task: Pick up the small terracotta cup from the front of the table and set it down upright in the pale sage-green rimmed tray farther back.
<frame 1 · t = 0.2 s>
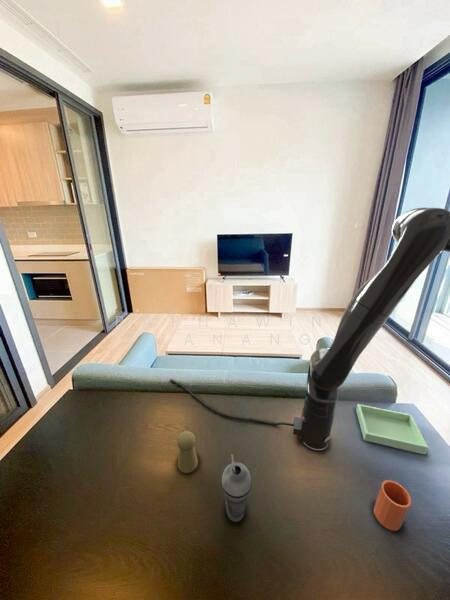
tray: (387, 430, 85), on the table
terracotta cup: (387, 516, 62), on the table
beverage cup: (235, 511, 63), on the table
beige pawn figure: (187, 463, 74), on the table
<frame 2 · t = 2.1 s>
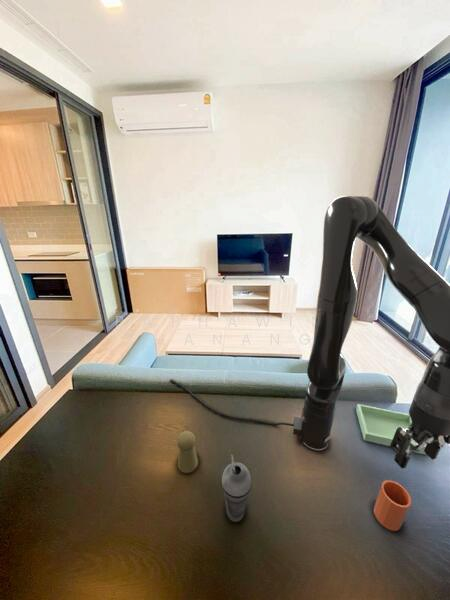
hand: (414, 460, 55), 20 cm above the table, tool pointing down, fingers open, 8 cm apart
nothing on the table moved.
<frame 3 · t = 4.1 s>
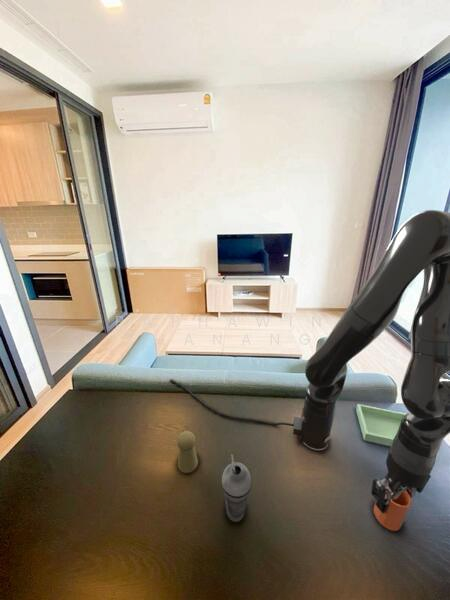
hand: (391, 505, 60), 5 cm above the table, tool pointing down, fingers closed on terracotta cup, 6 cm apart
terracotta cup: (387, 516, 62), on the table, touching gripper
everything else where it was.
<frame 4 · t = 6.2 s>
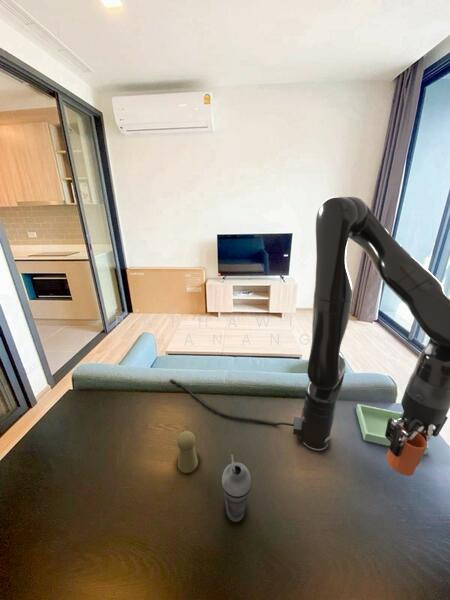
hand: (405, 450, 58), 19 cm above the table, tool pointing down, fingers closed on terracotta cup, 6 cm apart
terracotta cup: (400, 463, 60), point 14 cm above the table, touching gripper
everything else where it was.
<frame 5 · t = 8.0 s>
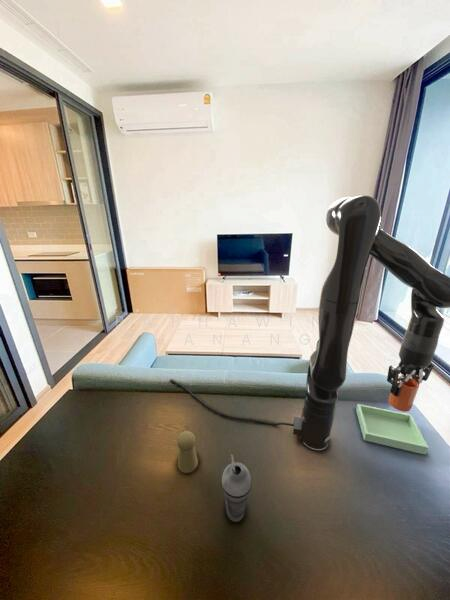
hand: (403, 392, 75), 19 cm above the table, tool pointing down, fingers closed on terracotta cup, 6 cm apart
terracotta cup: (399, 404, 77), point 15 cm above the table, touching gripper
everything else where it was.
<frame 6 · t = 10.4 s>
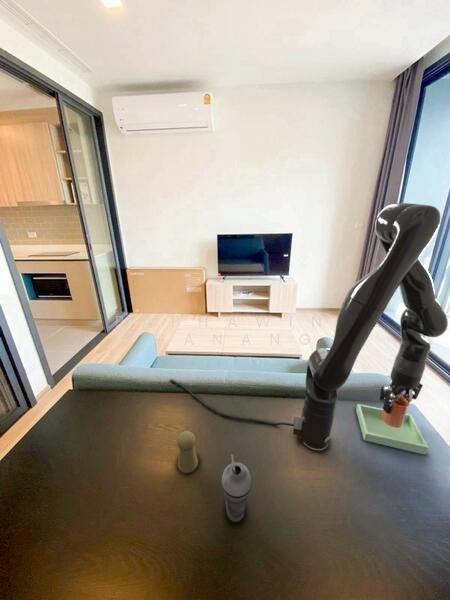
hand: (394, 410, 82), 9 cm above the table, tool pointing down, fingers closed on terracotta cup, 6 cm apart
terracotta cup: (391, 420, 84), point 5 cm above the table, touching gripper
everything else where it was.
when the fingers open (5 cm above the table, at t = 12.0 s): terracotta cup stays where it is, resting on tray.
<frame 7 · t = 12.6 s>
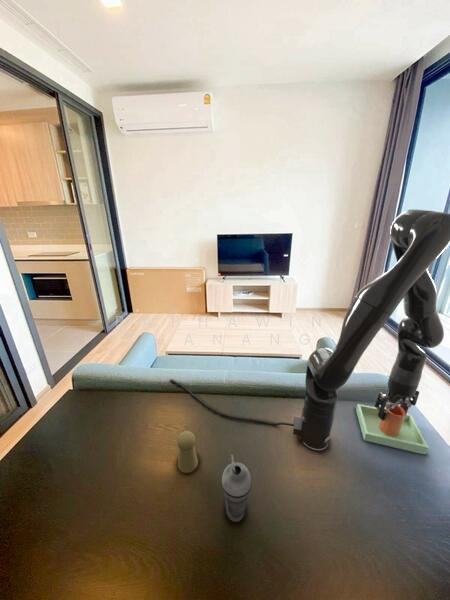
hand: (391, 416, 83), 6 cm above the table, tool pointing down, fingers open, 8 cm apart
terracotta cup: (388, 429, 85), point 1 cm above the table, touching tray
everything else where it was.
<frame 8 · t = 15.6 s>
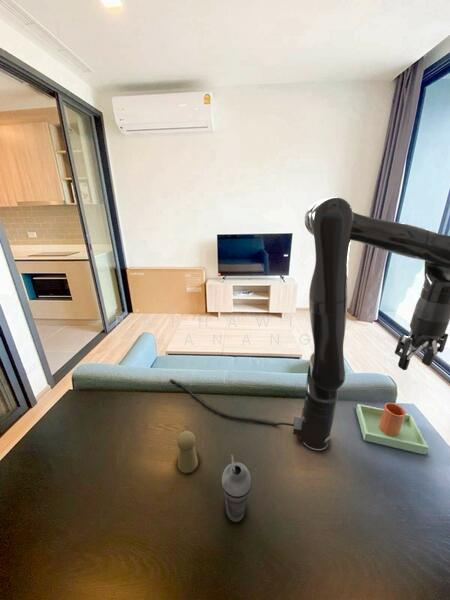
hand: (414, 366, 70), 30 cm above the table, tool pointing down, fingers open, 8 cm apart
nothing on the table moved.
at the end: terracotta cup inside the target area in the tray (0.2 cm from its centre), point 0.6 cm above the tray's base; terracotta cup tilted 0°; the gripper is holding nothing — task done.
